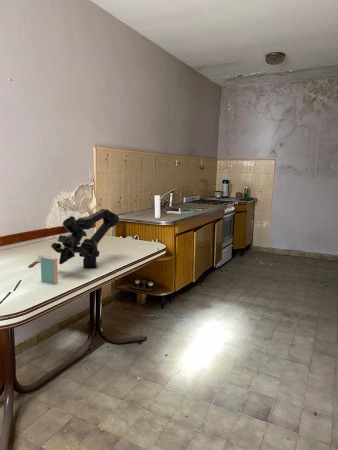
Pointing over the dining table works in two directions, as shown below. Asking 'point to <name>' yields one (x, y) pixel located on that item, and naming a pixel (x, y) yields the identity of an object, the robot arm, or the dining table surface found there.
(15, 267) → the dining table surface
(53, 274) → the glazed tile
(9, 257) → the dining table surface
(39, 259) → the kitchen cleaver
